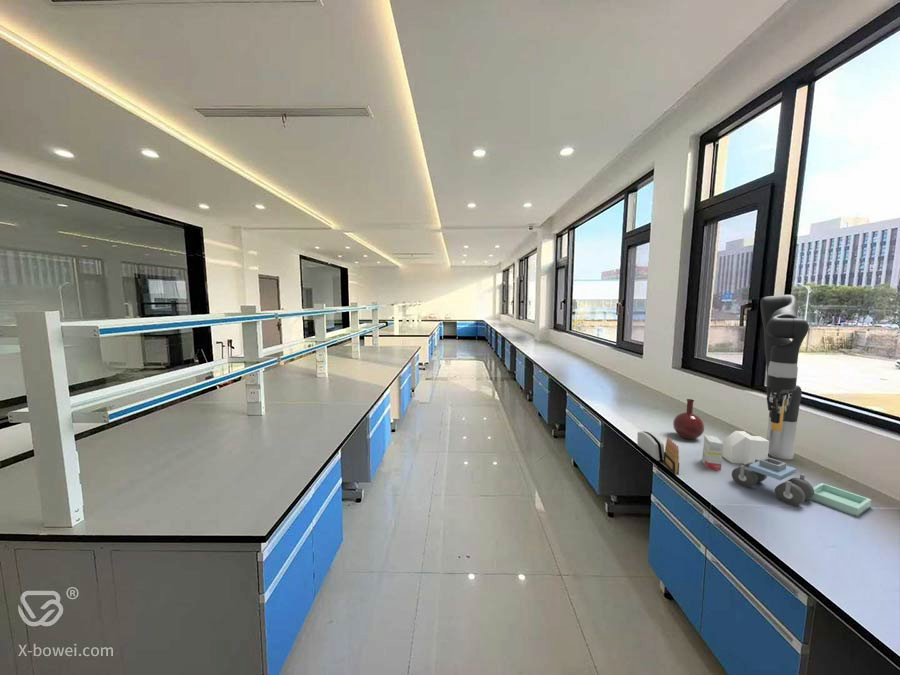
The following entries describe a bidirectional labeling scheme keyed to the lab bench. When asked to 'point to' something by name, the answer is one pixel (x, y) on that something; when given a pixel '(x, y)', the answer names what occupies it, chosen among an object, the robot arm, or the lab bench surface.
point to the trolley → (786, 492)
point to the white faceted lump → (744, 448)
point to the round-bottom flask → (688, 423)
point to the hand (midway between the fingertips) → (777, 421)
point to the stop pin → (778, 425)
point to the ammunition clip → (671, 456)
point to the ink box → (712, 452)
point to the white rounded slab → (651, 444)
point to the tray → (840, 499)
